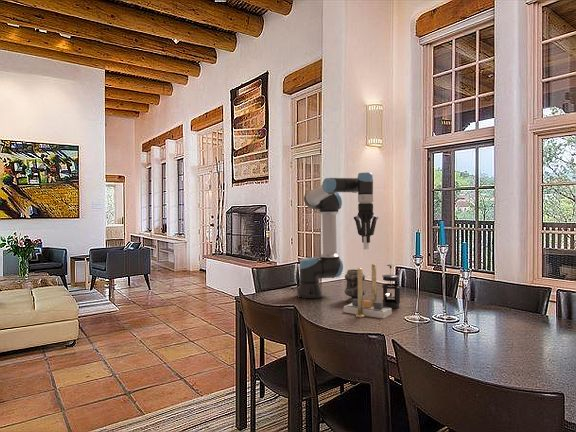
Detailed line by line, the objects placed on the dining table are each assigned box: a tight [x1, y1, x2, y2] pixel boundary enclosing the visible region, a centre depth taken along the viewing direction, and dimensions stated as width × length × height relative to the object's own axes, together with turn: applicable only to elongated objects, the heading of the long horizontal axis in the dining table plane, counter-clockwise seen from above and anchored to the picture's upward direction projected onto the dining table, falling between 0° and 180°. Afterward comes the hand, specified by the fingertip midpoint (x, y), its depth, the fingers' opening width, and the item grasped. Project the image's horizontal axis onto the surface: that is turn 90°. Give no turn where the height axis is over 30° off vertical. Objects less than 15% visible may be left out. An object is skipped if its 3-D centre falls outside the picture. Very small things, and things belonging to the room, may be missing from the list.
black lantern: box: [381, 264, 401, 310], centre depth 226 cm, size 12×9×23 cm
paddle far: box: [374, 301, 383, 309], centre depth 211 cm, size 4×2×3 cm, turn 53°
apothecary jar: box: [343, 268, 366, 304], centre depth 242 cm, size 12×12×18 cm
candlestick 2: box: [371, 263, 377, 305], centre depth 220 cm, size 4×4×24 cm
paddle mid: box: [363, 299, 372, 308], centre depth 214 cm, size 4×2×3 cm, turn 53°
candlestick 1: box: [355, 267, 366, 319], centre depth 208 cm, size 4×4×24 cm
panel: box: [343, 303, 393, 319], centre depth 214 cm, size 22×10×3 cm, turn 53°
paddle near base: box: [352, 299, 358, 306], centre depth 218 cm, size 4×2×3 cm, turn 53°
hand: (366, 249), depth 214 cm, fingers closed
